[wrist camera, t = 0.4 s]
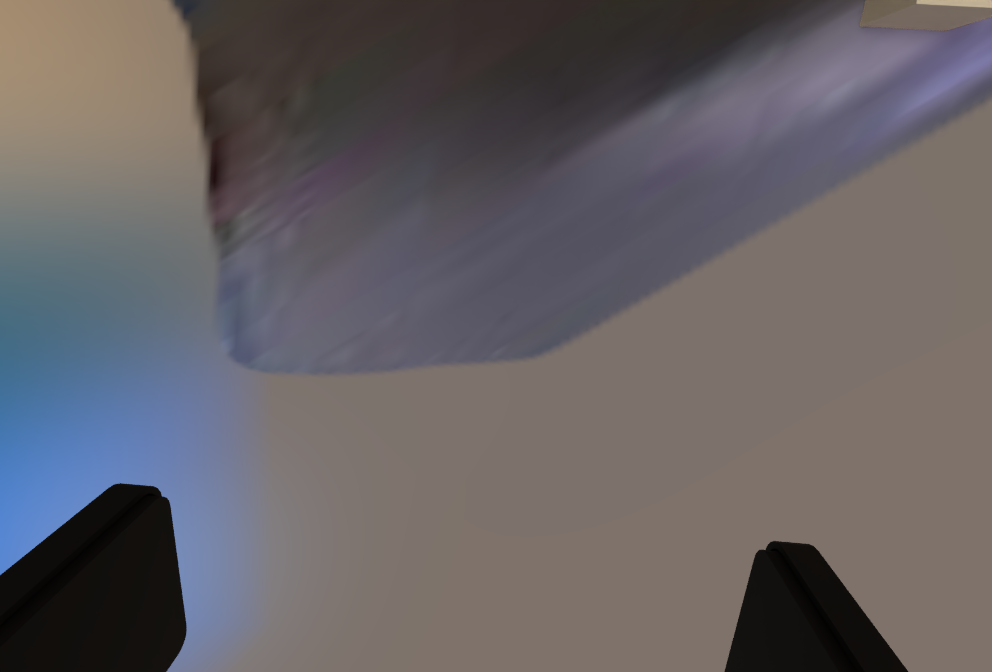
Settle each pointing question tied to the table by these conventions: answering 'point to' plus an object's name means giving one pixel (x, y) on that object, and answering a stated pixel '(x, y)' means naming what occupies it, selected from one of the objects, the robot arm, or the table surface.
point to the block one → (924, 13)
